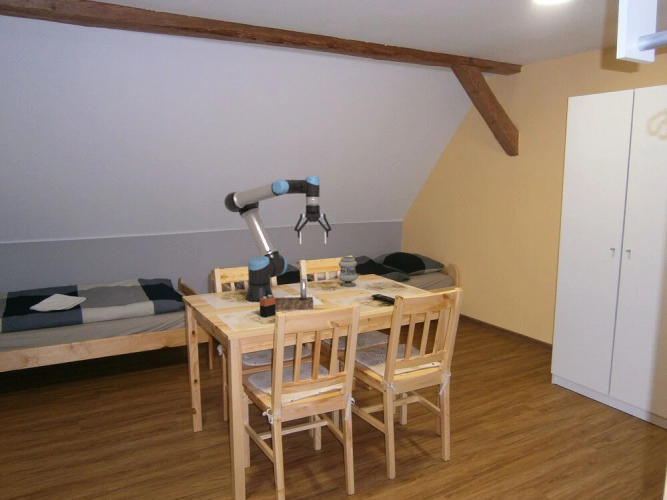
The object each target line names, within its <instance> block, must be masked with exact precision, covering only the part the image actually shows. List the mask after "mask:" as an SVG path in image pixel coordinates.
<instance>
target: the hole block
mask: <svg viewBox="0 0 667 500" xmlns="http://www.w3.org/2000/svg"><path fill="white" fill-rule="evenodd" d="M306 310H307V311H308V310H309V311H310V310H314V298H313V296H306V300H301V296H299V297H297V296H295V297H292V296H291V297H289V296H288V297H275V311H306Z"/></svg>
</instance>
